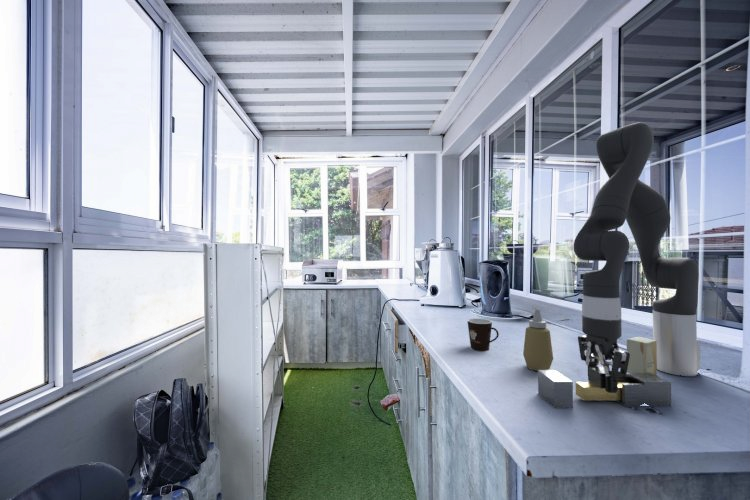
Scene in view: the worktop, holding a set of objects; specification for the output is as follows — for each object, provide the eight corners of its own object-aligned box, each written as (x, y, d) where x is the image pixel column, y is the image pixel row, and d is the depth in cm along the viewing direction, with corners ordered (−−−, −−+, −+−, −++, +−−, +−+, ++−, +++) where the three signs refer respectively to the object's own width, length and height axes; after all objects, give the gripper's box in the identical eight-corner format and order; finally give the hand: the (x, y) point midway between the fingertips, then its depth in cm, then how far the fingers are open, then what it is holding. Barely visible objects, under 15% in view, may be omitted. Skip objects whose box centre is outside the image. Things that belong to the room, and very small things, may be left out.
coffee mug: (464, 345, 116) (463, 318, 116) (485, 344, 117) (485, 318, 117) (476, 355, 105) (476, 326, 105) (501, 354, 105) (500, 325, 105)
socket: (555, 393, 76) (554, 369, 76) (573, 408, 69) (572, 381, 69) (538, 393, 76) (537, 369, 76) (554, 408, 69) (554, 381, 69)
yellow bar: (648, 393, 74) (648, 366, 74) (664, 401, 70) (663, 373, 70) (574, 393, 75) (574, 366, 75) (585, 401, 71) (585, 373, 71)
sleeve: (650, 395, 75) (650, 372, 75) (671, 406, 70) (671, 382, 70) (607, 395, 75) (607, 372, 75) (625, 406, 70) (624, 382, 70)
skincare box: (646, 391, 77) (646, 343, 77) (626, 385, 81) (625, 338, 81) (658, 386, 80) (657, 339, 80) (637, 380, 84) (637, 335, 84)
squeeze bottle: (557, 374, 88) (557, 312, 88) (527, 372, 89) (526, 311, 90) (547, 364, 96) (547, 307, 96) (520, 362, 97) (519, 306, 97)
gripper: (643, 322, 65) (644, 401, 65) (595, 309, 80) (596, 374, 80) (607, 322, 65) (608, 401, 65) (566, 309, 80) (567, 374, 80)
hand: (601, 386), depth 73 cm, fingers open, 5 cm apart
